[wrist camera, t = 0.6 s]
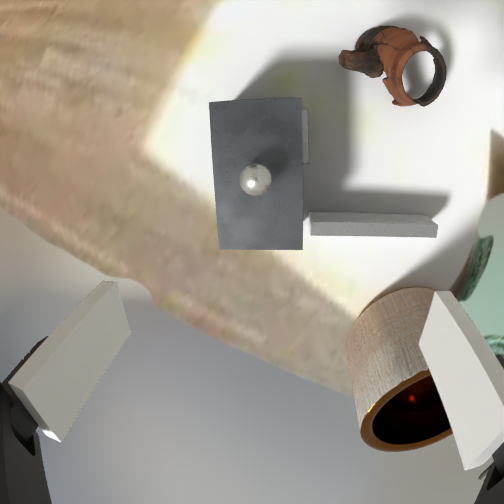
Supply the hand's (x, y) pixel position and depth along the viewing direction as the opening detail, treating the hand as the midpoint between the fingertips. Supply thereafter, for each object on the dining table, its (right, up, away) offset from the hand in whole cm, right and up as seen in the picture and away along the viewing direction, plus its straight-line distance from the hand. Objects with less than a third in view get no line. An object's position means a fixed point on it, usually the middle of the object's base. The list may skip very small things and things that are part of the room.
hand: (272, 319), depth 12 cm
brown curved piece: (+14, +24, +16) cm, 32 cm away
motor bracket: (+9, +12, +21) cm, 26 cm away
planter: (+22, -10, +29) cm, 38 cm away
